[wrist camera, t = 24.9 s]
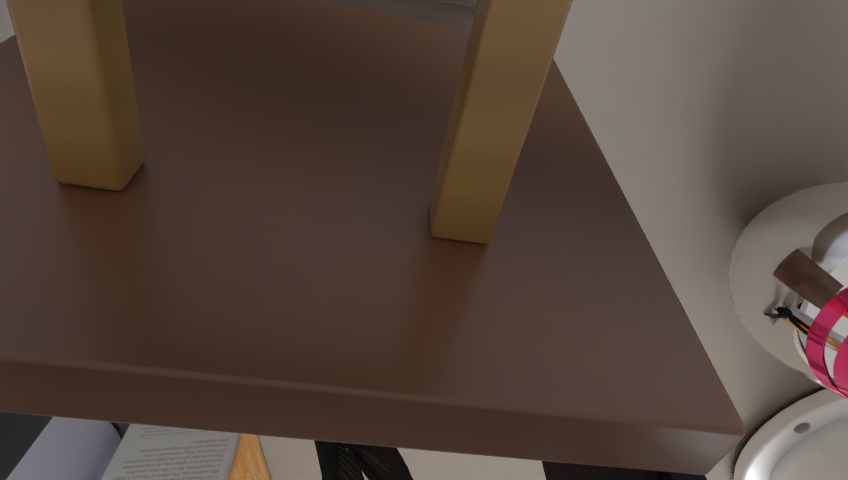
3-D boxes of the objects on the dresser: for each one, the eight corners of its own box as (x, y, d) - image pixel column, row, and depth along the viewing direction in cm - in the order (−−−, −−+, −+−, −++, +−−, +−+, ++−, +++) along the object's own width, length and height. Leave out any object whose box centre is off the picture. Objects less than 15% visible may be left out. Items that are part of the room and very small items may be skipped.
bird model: (379, 283, 34) (236, 329, 27) (535, 422, 29) (411, 531, 21) (354, 345, 37) (217, 403, 29) (494, 485, 31) (370, 603, 23)
